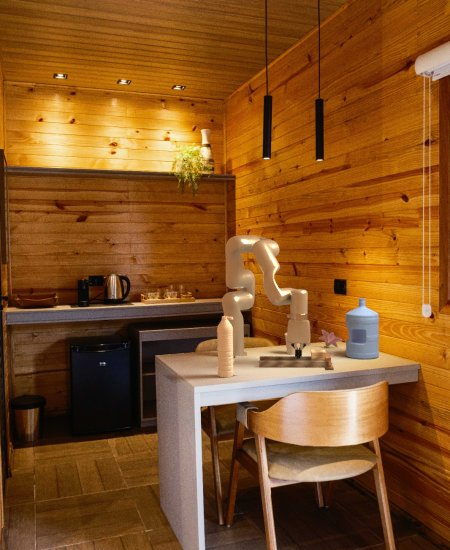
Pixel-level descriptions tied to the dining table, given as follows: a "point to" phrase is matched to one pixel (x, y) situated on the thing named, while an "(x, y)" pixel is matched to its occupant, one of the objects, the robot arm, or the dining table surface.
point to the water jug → (362, 332)
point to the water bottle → (225, 347)
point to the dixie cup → (290, 347)
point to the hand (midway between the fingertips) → (298, 358)
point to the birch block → (318, 355)
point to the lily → (330, 338)
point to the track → (294, 362)
